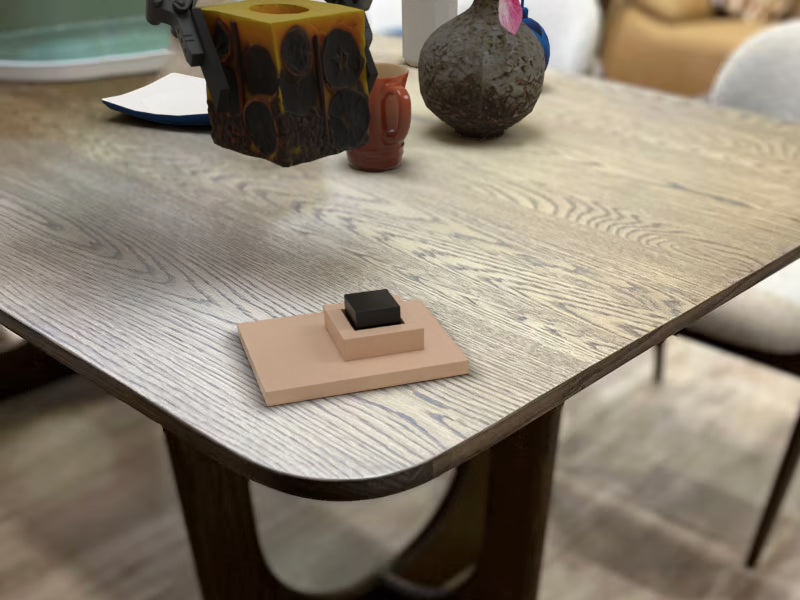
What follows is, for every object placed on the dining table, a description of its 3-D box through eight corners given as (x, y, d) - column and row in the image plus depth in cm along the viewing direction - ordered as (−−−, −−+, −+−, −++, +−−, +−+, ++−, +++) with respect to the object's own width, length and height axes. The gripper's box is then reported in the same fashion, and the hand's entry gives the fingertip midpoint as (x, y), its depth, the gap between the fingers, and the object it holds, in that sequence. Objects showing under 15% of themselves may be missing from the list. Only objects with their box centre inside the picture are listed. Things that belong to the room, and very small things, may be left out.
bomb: (470, 89, 136) (474, -25, 126) (511, 79, 142) (518, -32, 132) (518, 100, 131) (525, -18, 121) (558, 89, 137) (569, -25, 127)
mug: (327, 160, 106) (320, 66, 99) (386, 150, 110) (383, 59, 103) (376, 186, 99) (373, 87, 92) (437, 175, 103) (438, 78, 96)
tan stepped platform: (267, 406, 62) (261, 369, 60) (238, 336, 70) (233, 302, 68) (468, 373, 66) (470, 337, 64) (419, 311, 74) (419, 278, 72)
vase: (479, 111, 126) (489, -158, 106) (569, 136, 117) (599, -153, 97) (395, 131, 117) (389, -159, 97) (485, 159, 108) (500, -154, 88)
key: (357, 334, 65) (355, 312, 64) (344, 315, 68) (343, 293, 67) (401, 327, 66) (400, 306, 65) (387, 309, 69) (386, 288, 68)
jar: (407, 70, 146) (405, -62, 133) (398, 58, 153) (395, -68, 140) (462, 68, 147) (465, -62, 135) (450, 57, 154) (452, -68, 142)
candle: (286, 171, 68) (270, 23, 61) (208, 146, 73) (186, 6, 66) (374, 146, 74) (369, 8, 67) (297, 124, 78) (285, -7, 72)
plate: (224, 137, 113) (221, 115, 111) (95, 121, 118) (89, 100, 116) (292, 103, 127) (290, 82, 126) (174, 90, 132) (170, 70, 130)
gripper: (45, -217, 60) (151, 75, 61) (356, -205, 69) (444, 48, 70) (53, -123, 67) (148, 138, 68) (334, -124, 76) (415, 106, 77)
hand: (299, 93), depth 69 cm, fingers closed on candle, 12 cm apart
